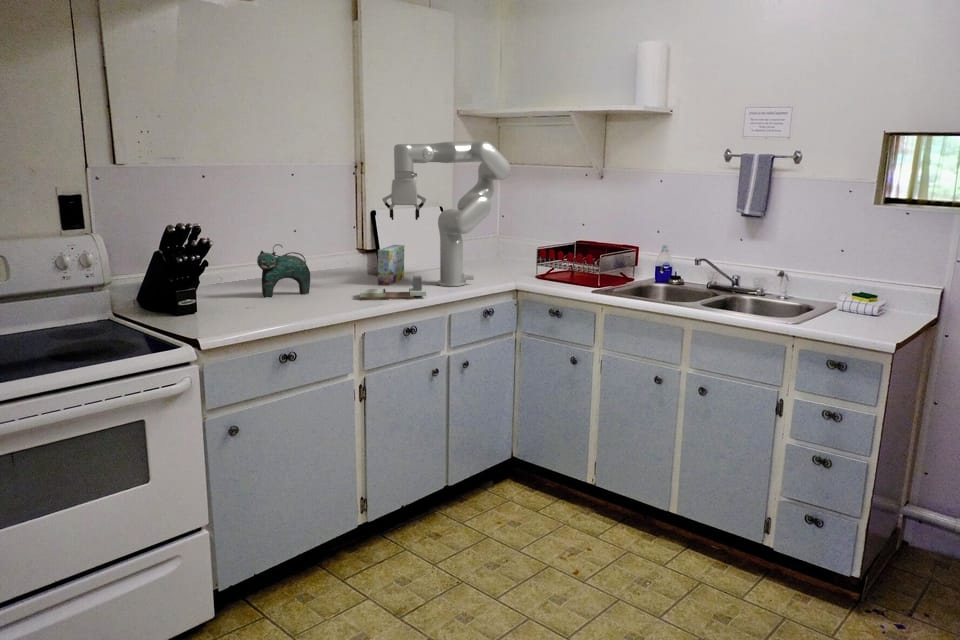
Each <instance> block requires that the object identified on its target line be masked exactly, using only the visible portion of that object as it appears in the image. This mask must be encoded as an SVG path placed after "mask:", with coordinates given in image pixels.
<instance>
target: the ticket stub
mask: <svg viewBox="0 0 960 640" xmlns="http://www.w3.org/2000/svg"><path fill="white" fill-rule="evenodd" d="M422 281H423V280H422V276H421V275H412V287H409V288H408V292H409V293H410V296H413V297H415V296H416V297H418V296H419V297H421V296H424V297H425V296H427V290H426V288H425V287H422V286H423V285H422V284H423V282H422Z"/></svg>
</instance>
